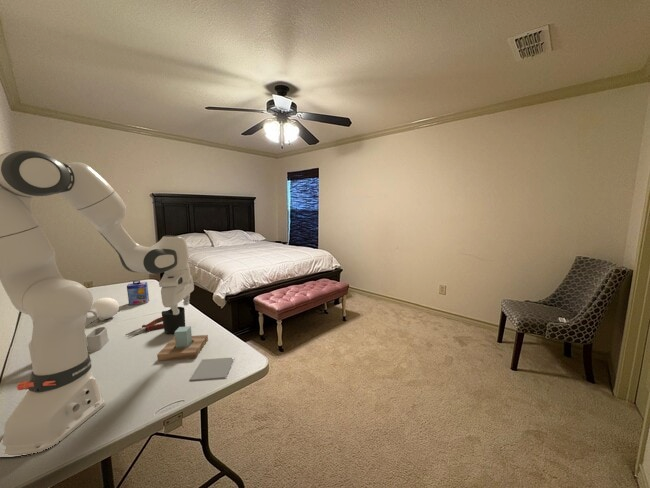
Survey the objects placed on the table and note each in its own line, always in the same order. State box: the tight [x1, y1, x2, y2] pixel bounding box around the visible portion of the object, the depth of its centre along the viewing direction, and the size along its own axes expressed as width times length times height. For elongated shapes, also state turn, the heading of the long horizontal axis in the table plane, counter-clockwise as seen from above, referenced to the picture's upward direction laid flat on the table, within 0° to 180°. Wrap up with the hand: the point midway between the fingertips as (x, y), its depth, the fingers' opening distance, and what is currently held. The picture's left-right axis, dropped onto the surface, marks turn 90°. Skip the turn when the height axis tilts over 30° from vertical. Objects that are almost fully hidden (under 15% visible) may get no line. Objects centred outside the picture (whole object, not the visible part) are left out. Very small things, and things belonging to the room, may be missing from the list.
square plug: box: [174, 326, 193, 348], centre depth 108 cm, size 4×4×9 cm
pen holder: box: [161, 306, 186, 335], centre depth 126 cm, size 9×9×10 cm
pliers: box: [125, 316, 164, 338], centre depth 129 cm, size 12×20×3 cm, turn 148°
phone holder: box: [85, 308, 110, 353], centre depth 110 cm, size 17×10×18 cm, turn 110°
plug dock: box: [156, 334, 209, 362], centre depth 108 cm, size 14×14×2 cm
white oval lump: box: [91, 297, 120, 321], centre depth 142 cm, size 12×12×15 cm
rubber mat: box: [189, 357, 234, 382], centre depth 95 cm, size 12×12×1 cm
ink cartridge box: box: [126, 280, 150, 306], centre depth 164 cm, size 10×6×14 cm, turn 115°
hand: (181, 309), depth 107 cm, fingers open, 8 cm apart
